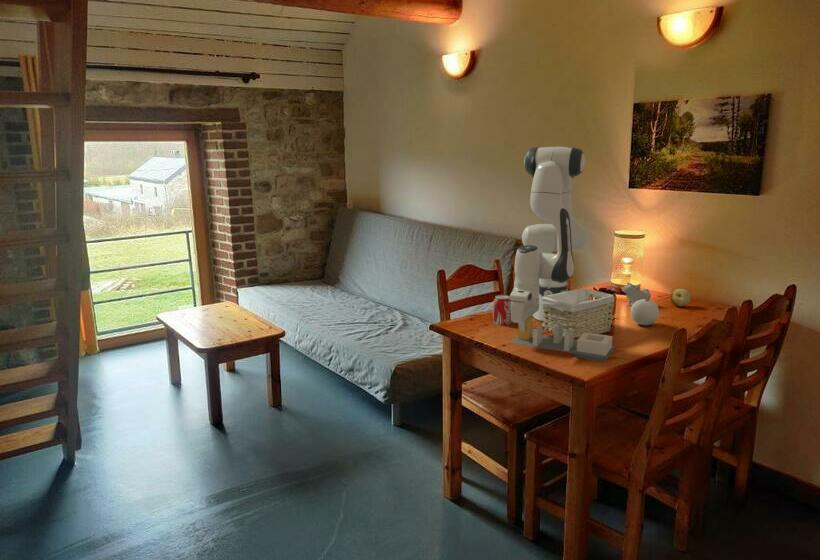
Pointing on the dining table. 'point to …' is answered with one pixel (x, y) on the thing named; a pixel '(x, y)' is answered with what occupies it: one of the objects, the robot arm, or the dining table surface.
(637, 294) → the dog figurine
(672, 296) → the fruit
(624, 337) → the dining table surface
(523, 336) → the plug
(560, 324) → the board
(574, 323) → the storage basket
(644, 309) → the ornament
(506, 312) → the soda can
